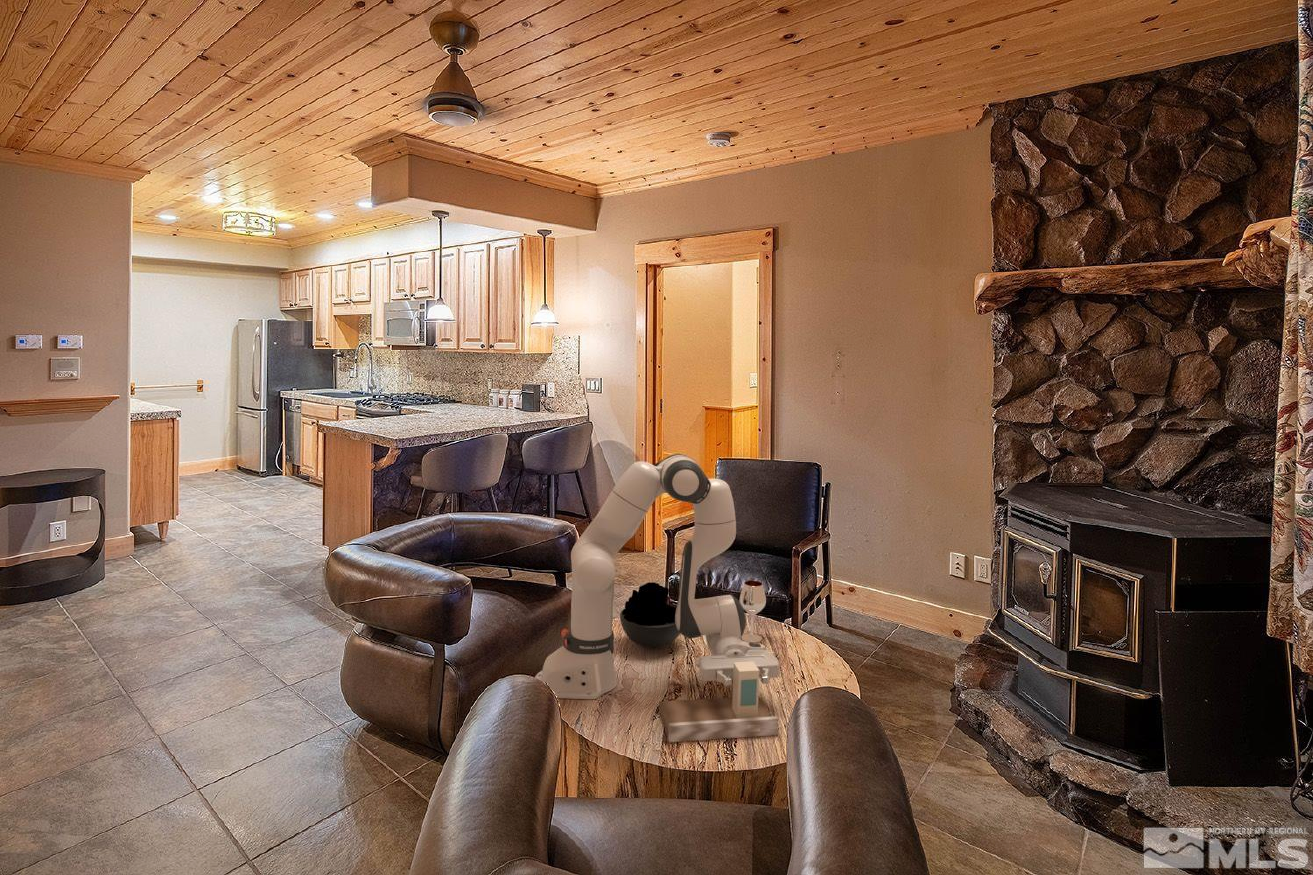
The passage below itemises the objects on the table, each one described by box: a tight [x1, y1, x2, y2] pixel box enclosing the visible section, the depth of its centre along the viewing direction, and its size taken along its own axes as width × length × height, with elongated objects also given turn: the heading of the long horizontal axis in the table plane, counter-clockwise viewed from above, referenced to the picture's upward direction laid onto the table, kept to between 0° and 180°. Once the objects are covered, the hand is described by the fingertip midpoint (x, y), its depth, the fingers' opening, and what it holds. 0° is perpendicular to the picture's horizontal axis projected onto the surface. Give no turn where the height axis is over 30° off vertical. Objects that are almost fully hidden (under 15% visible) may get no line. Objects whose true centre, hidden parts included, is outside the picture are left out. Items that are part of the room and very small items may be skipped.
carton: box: [731, 661, 760, 719], centre depth 170 cm, size 5×5×12 cm
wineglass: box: [739, 580, 767, 644], centre depth 219 cm, size 8×8×18 cm
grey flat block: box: [658, 695, 779, 743], centre depth 170 cm, size 26×16×4 cm, turn 99°
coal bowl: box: [619, 581, 680, 650], centre depth 212 cm, size 20×20×19 cm
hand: (747, 681), depth 169 cm, fingers open, 8 cm apart
